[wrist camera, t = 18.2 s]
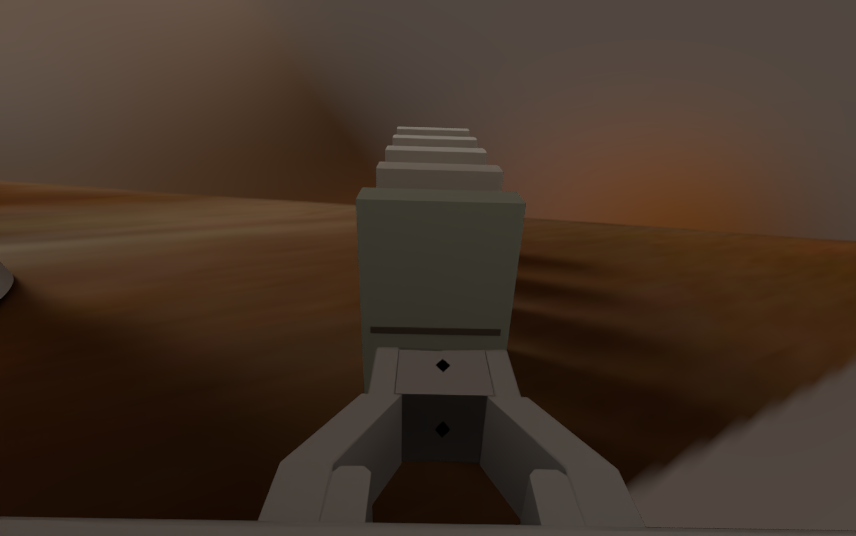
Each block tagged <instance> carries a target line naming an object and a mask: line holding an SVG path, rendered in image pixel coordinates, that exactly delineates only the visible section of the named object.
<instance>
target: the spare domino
mask: <svg viewBox="0 0 856 536" xmlns="http://www.w3.org/2000/svg"><path fill="white" fill-rule="evenodd" d="M525 207H526V203H525V202H524V201H523V199H522V198H521V197H520V195H519V194H518V193H517V192H511V191H474V190H437V189H400V188H362V189H361V191H360V193H359V195H358V196H357V198H356V213H357V235H358V258H359V281H360V303H361V326H362V349H363V371H364V394H368V390H369V385H370V379H371V374H372V368H373V363H374V358H375V352H376V349H377V347H398V348H400V347H402V348H425V349H442V350H506V351H507V344H508V337H509V329H510V322H511V314H512V306H513V299H514V291H515V283H516V276H517V268H518V260H519V253H520V245H521V238H522V230H523V222H524V214H525Z"/></svg>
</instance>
